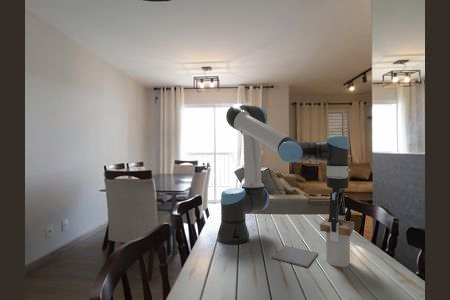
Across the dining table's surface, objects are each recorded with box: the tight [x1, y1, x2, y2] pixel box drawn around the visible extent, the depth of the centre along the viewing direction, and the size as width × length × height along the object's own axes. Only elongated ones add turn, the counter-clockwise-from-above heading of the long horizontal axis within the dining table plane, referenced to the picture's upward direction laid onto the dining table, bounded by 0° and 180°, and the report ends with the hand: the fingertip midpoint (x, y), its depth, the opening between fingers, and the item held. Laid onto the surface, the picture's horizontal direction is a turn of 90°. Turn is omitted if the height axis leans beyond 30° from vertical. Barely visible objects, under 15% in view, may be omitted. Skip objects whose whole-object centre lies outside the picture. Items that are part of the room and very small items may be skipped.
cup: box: [325, 232, 351, 268], centre depth 96 cm, size 8×8×12 cm
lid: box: [319, 217, 355, 236], centre depth 96 cm, size 10×10×4 cm
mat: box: [271, 245, 319, 269], centre depth 101 cm, size 14×14×1 cm
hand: (337, 236), depth 96 cm, fingers closed on lid, 10 cm apart
